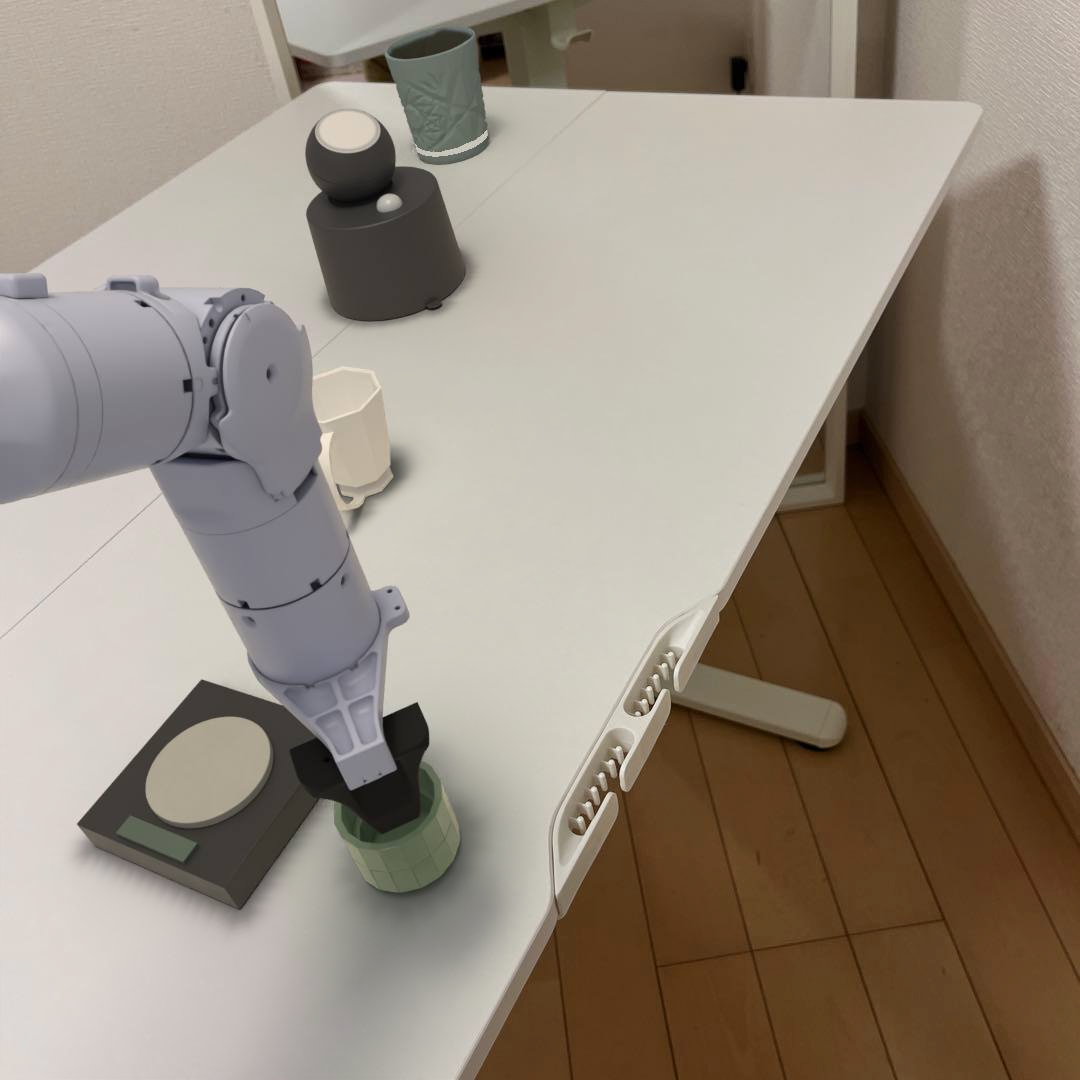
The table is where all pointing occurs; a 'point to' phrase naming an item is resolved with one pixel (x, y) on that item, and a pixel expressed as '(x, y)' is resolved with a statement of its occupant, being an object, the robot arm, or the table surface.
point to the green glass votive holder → (405, 841)
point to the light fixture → (377, 222)
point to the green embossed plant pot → (440, 90)
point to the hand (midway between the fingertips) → (375, 760)
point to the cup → (352, 433)
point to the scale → (208, 794)
